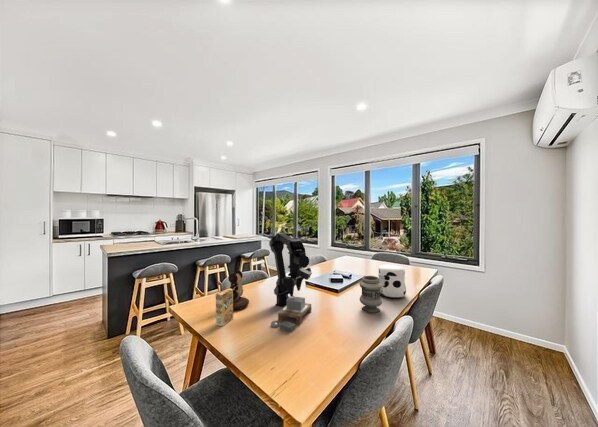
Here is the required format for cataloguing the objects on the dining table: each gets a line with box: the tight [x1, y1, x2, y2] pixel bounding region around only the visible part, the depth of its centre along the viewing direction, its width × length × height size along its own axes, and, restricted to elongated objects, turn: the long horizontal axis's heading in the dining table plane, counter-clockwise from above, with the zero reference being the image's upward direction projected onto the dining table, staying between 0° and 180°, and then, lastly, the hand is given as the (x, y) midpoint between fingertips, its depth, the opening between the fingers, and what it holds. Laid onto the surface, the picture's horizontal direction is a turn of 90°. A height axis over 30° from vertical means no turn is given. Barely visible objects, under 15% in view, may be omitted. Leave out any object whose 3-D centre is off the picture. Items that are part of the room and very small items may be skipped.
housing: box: [286, 295, 306, 311], centre depth 122 cm, size 6×8×6 cm
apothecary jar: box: [359, 275, 384, 315], centre depth 128 cm, size 12×12×18 cm
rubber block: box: [279, 320, 296, 333], centre depth 109 cm, size 6×4×2 cm, turn 57°
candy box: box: [215, 288, 234, 327], centre depth 116 cm, size 9×4×15 cm, turn 162°
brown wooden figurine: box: [228, 269, 250, 311], centre depth 135 cm, size 15×15×20 cm
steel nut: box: [270, 320, 280, 328], centre depth 112 cm, size 4×4×2 cm
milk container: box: [378, 264, 407, 299], centre depth 150 cm, size 17×17×18 cm
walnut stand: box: [277, 302, 312, 326], centre depth 122 cm, size 12×16×4 cm
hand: (295, 293), depth 122 cm, fingers open, 9 cm apart
